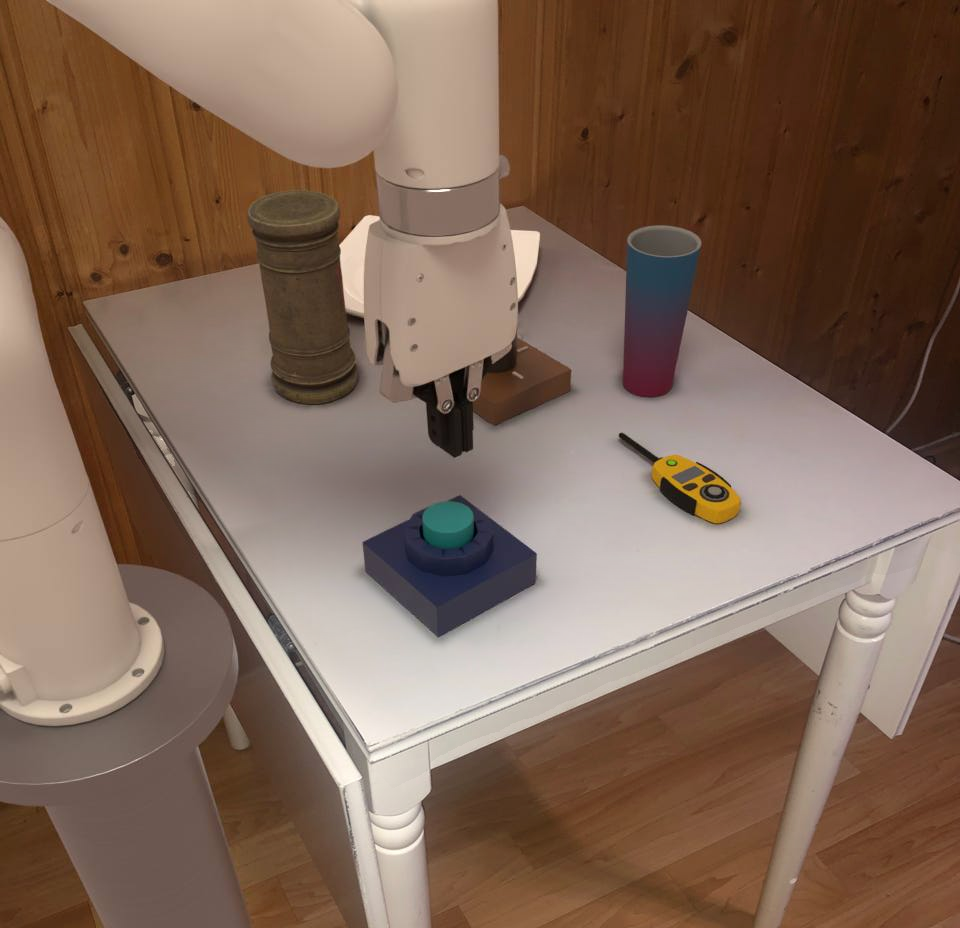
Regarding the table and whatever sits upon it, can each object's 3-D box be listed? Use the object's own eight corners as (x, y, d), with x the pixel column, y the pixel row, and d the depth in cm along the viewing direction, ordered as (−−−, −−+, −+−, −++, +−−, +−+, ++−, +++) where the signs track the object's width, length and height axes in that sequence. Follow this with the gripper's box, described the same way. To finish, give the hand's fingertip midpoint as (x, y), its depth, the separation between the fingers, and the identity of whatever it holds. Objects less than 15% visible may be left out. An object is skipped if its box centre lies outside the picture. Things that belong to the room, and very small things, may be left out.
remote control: (712, 513, 89) (600, 431, 98) (709, 531, 91) (598, 448, 99) (753, 493, 91) (640, 415, 100) (749, 511, 92) (637, 432, 101)
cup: (667, 363, 110) (686, 222, 100) (690, 397, 106) (712, 252, 95) (605, 371, 109) (617, 229, 99) (625, 405, 105) (640, 260, 94)
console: (494, 425, 102) (494, 402, 100) (420, 376, 109) (419, 352, 107) (570, 391, 107) (571, 367, 105) (495, 345, 113) (495, 322, 111)
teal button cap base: (438, 637, 81) (436, 589, 78) (365, 571, 87) (360, 524, 83) (535, 583, 86) (537, 535, 82) (460, 524, 91) (459, 477, 88)
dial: (491, 377, 104) (491, 323, 100) (464, 359, 106) (463, 306, 102) (525, 362, 106) (527, 309, 102) (497, 345, 108) (498, 292, 104)
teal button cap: (443, 556, 81) (443, 539, 80) (413, 531, 83) (412, 514, 82) (484, 536, 83) (483, 518, 82) (452, 512, 85) (452, 494, 84)
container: (323, 414, 104) (301, 235, 91) (253, 389, 107) (222, 213, 95) (377, 373, 109) (362, 199, 97) (308, 351, 113) (286, 180, 100)
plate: (293, 322, 117) (290, 299, 115) (362, 231, 134) (360, 210, 132) (507, 347, 113) (508, 324, 111) (550, 250, 130) (551, 228, 128)
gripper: (494, 148, 70) (497, 389, 83) (303, 211, 63) (338, 462, 76) (570, 181, 66) (561, 430, 79) (373, 252, 59) (399, 511, 72)
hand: (451, 445), depth 77 cm, fingers closed
